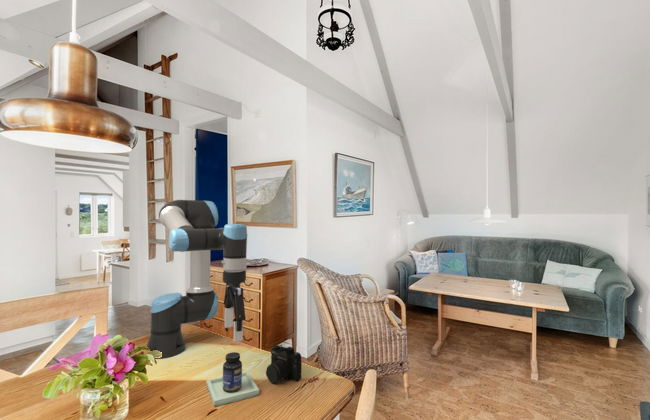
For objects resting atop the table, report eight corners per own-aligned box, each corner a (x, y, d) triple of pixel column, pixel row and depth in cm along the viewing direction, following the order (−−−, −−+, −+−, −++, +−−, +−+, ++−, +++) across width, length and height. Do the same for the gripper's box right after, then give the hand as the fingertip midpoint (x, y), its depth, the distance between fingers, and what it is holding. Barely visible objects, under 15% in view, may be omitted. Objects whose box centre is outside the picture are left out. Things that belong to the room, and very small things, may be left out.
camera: (256, 376, 117) (256, 348, 117) (278, 366, 125) (278, 340, 125) (282, 390, 108) (282, 360, 108) (304, 378, 116) (304, 350, 116)
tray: (206, 385, 110) (206, 379, 110) (247, 375, 117) (247, 370, 117) (214, 406, 98) (214, 401, 98) (258, 395, 105) (259, 389, 105)
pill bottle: (236, 394, 104) (236, 360, 104) (218, 392, 105) (219, 358, 105) (244, 384, 110) (245, 352, 110) (228, 382, 111) (228, 350, 111)
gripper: (216, 265, 117) (214, 323, 117) (231, 277, 96) (230, 349, 95) (236, 263, 121) (235, 320, 121) (256, 275, 99) (254, 345, 99)
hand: (233, 333), depth 108 cm, fingers open, 13 cm apart
